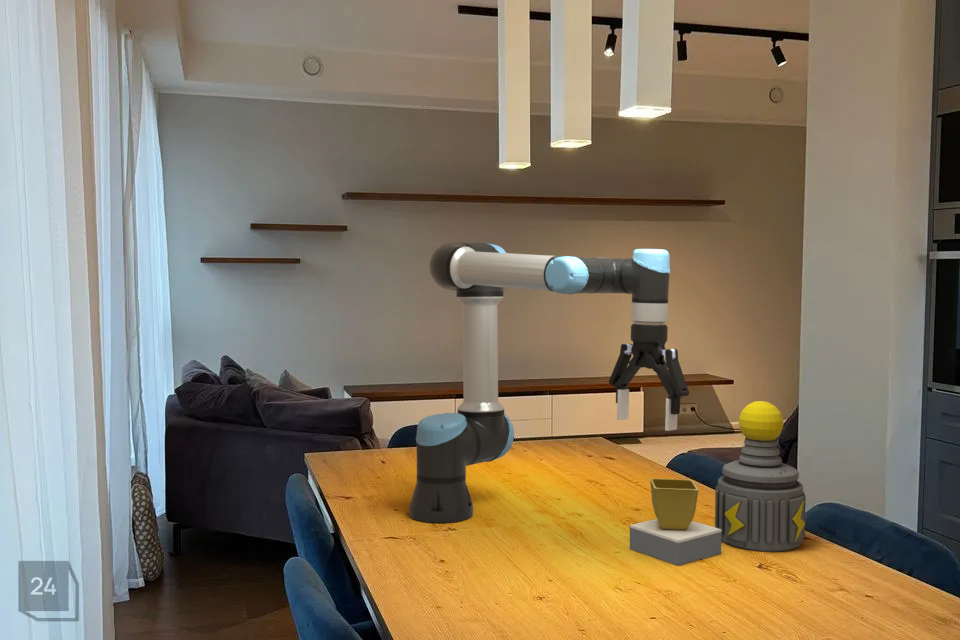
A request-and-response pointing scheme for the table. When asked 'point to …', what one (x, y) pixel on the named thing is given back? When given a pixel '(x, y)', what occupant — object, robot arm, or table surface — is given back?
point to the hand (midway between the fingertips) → (646, 424)
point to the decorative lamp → (760, 489)
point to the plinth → (675, 541)
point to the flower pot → (674, 502)
